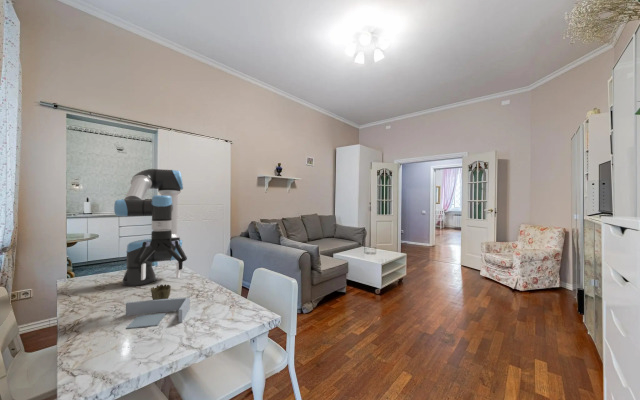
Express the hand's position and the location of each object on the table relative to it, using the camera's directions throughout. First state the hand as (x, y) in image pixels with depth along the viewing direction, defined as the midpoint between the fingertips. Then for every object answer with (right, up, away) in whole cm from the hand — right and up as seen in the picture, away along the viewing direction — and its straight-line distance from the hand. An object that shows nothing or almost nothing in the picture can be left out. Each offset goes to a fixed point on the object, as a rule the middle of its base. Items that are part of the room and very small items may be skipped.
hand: (161, 278), depth 111 cm
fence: (+5, -12, -12) cm, 18 cm away
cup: (0, -12, 0) cm, 12 cm away
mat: (+4, -12, -14) cm, 19 cm away
